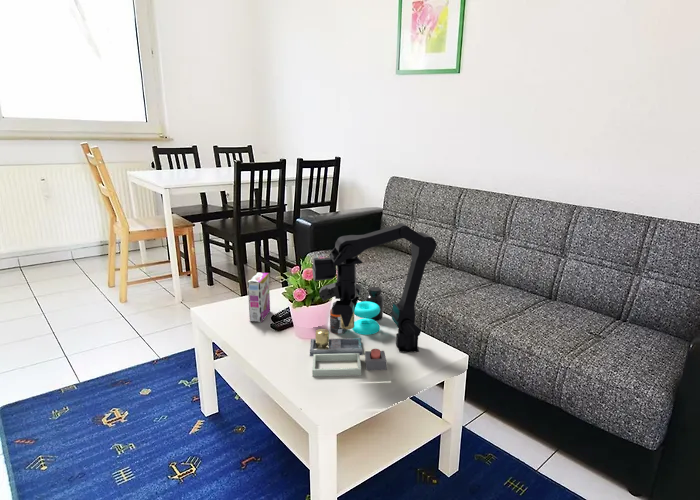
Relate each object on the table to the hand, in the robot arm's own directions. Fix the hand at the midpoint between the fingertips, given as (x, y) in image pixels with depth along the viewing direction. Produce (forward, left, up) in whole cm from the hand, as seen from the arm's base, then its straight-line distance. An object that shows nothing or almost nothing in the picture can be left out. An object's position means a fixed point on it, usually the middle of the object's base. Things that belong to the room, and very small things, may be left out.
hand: (347, 323), depth 143 cm
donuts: (-7, -17, -12) cm, 22 cm away
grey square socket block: (-8, +8, -11) cm, 16 cm away
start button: (-8, +8, -8) cm, 14 cm away
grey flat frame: (+4, -3, -11) cm, 12 cm away
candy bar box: (+33, -31, -12) cm, 46 cm away
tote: (+4, +9, -11) cm, 15 cm away
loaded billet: (+8, -3, -10) cm, 13 cm away
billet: (0, 0, -1) cm, 1 cm away
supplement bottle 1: (+3, -16, -12) cm, 20 cm away
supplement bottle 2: (-11, -28, -11) cm, 32 cm away
